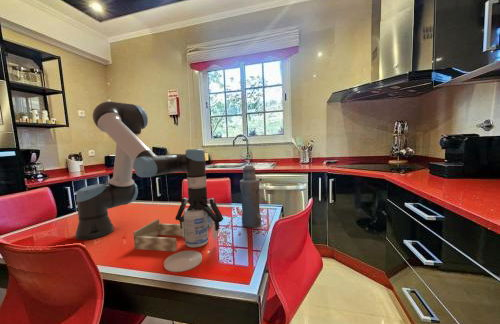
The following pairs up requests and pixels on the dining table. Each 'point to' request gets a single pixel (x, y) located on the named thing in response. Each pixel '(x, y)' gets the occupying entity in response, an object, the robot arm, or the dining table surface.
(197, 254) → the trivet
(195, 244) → the supplement tub
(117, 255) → the dining table surface
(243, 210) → the bottle
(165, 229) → the shelf bay
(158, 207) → the dining table surface
